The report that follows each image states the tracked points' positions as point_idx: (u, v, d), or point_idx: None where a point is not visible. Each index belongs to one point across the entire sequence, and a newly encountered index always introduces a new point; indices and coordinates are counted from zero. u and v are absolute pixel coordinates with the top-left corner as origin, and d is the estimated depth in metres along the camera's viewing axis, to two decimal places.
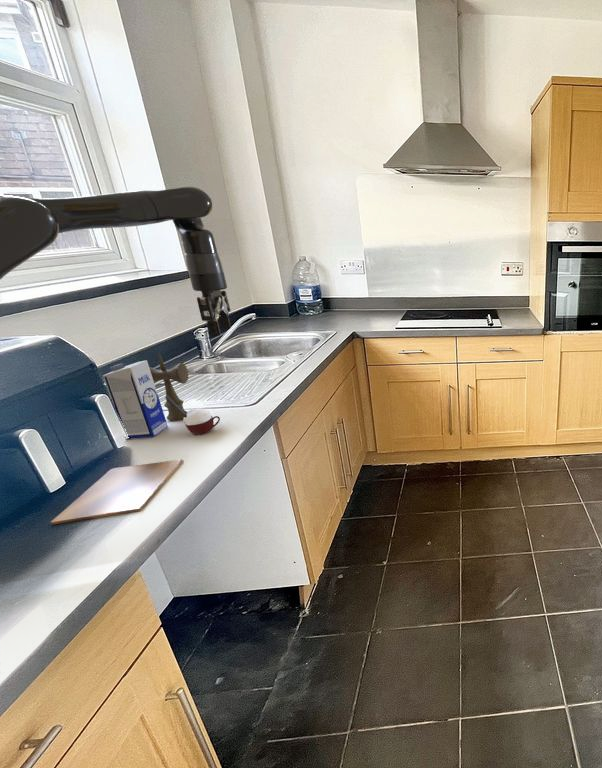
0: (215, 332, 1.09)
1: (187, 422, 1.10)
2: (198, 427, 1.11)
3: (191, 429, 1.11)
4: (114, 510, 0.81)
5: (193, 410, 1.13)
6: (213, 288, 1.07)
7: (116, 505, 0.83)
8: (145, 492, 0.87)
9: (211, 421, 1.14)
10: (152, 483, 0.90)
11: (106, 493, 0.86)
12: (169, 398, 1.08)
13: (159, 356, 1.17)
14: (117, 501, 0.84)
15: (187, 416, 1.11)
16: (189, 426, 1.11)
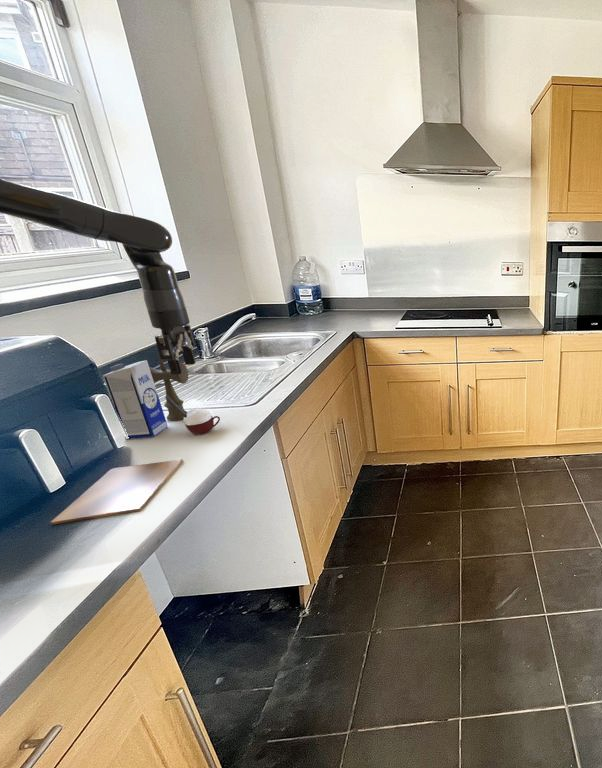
0: (176, 371, 1.04)
1: (187, 422, 1.10)
2: (198, 427, 1.11)
3: (191, 429, 1.11)
4: (114, 510, 0.81)
5: (193, 410, 1.13)
6: (173, 325, 1.02)
7: (116, 505, 0.83)
8: (145, 492, 0.87)
9: (211, 421, 1.14)
10: (152, 483, 0.90)
11: (106, 493, 0.86)
12: (169, 398, 1.08)
13: (159, 356, 1.17)
14: (117, 501, 0.84)
15: (187, 416, 1.11)
16: (189, 426, 1.11)
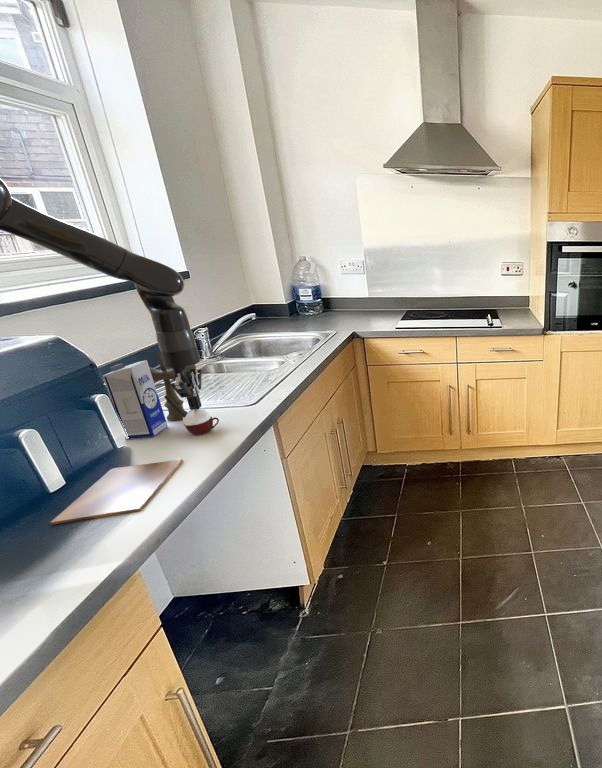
0: (194, 406, 1.11)
1: (184, 422, 1.10)
2: (194, 428, 1.11)
3: (188, 429, 1.11)
4: (114, 510, 0.81)
5: (193, 410, 1.13)
6: (185, 364, 1.06)
7: (116, 505, 0.83)
8: (145, 492, 0.87)
9: (209, 422, 1.13)
10: (152, 483, 0.90)
11: (106, 493, 0.86)
12: (168, 397, 1.09)
13: (159, 356, 1.17)
14: (117, 501, 0.84)
15: (186, 416, 1.11)
16: (186, 426, 1.11)
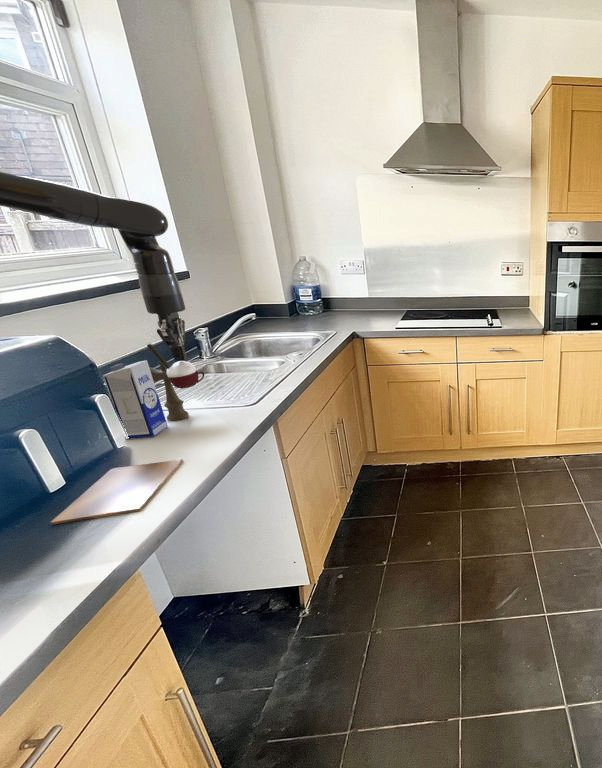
0: (180, 357, 1.06)
1: (167, 374, 1.06)
2: (177, 380, 1.06)
3: (171, 382, 1.06)
4: (114, 510, 0.81)
5: (177, 362, 1.08)
6: (171, 310, 1.01)
7: (116, 505, 0.83)
8: (145, 492, 0.87)
9: (193, 376, 1.08)
10: (152, 483, 0.90)
11: (106, 493, 0.86)
12: (152, 347, 1.04)
13: None
14: (117, 501, 0.84)
15: (169, 368, 1.06)
16: (169, 378, 1.06)
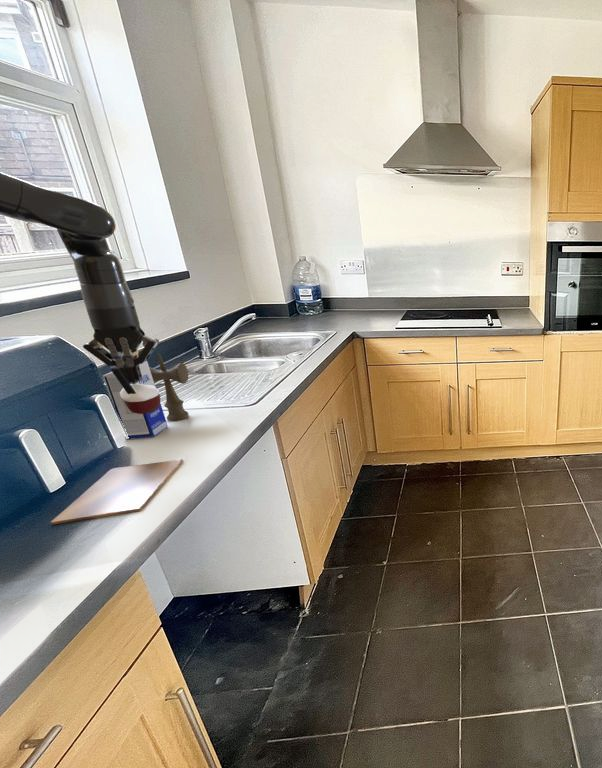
0: (141, 376, 0.94)
1: (143, 397, 0.92)
2: (156, 400, 0.95)
3: (148, 405, 0.93)
4: (114, 510, 0.81)
5: (132, 385, 0.93)
6: (138, 321, 0.91)
7: (116, 505, 0.83)
8: (145, 492, 0.87)
9: None
10: (152, 483, 0.90)
11: (106, 493, 0.86)
12: None
13: (159, 356, 1.17)
14: (117, 501, 0.84)
15: (136, 391, 0.92)
16: (146, 401, 0.93)
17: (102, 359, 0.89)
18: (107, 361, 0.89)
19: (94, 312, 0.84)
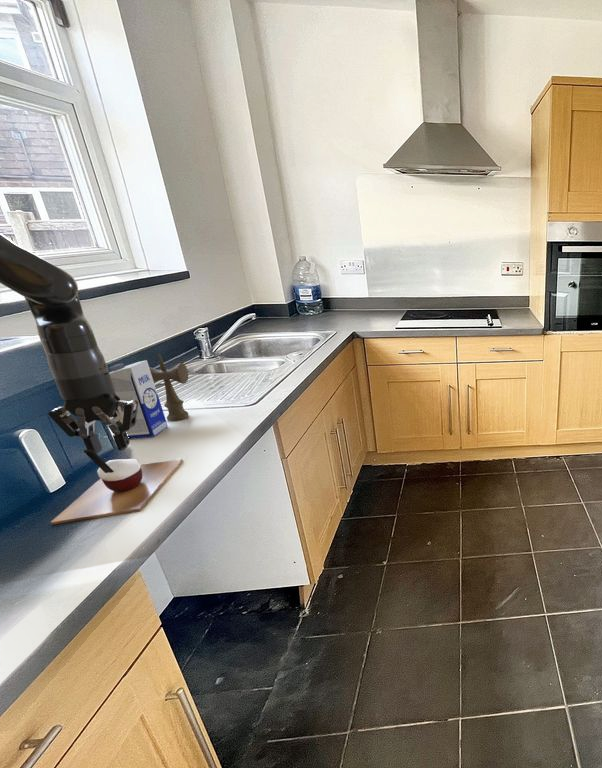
0: (128, 443, 0.87)
1: (122, 475, 0.85)
2: (137, 476, 0.88)
3: (128, 483, 0.86)
4: (114, 510, 0.81)
5: (111, 462, 0.86)
6: None
7: (116, 505, 0.83)
8: (145, 492, 0.87)
9: None
10: (152, 483, 0.90)
11: (106, 493, 0.86)
12: None
13: (159, 356, 1.17)
14: (117, 501, 0.84)
15: (114, 470, 0.85)
16: (125, 479, 0.86)
17: (64, 429, 0.81)
18: (69, 432, 0.81)
19: (62, 383, 0.77)
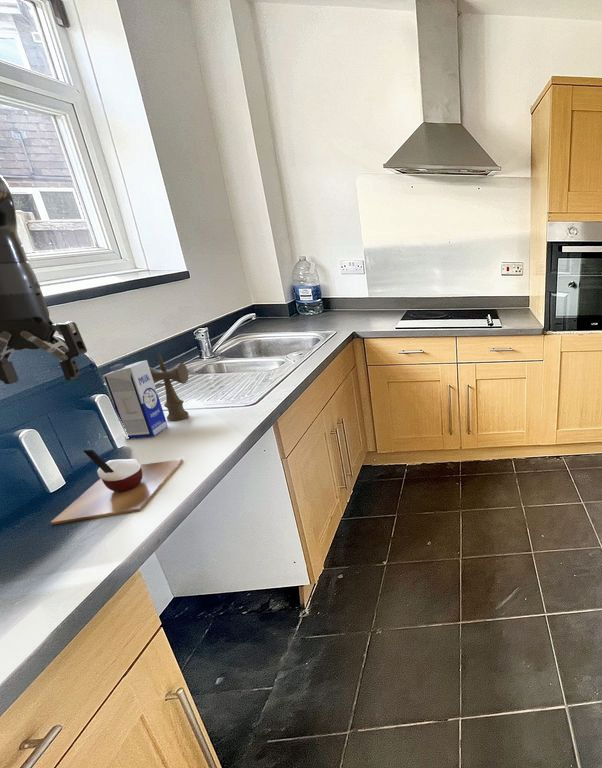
0: (78, 372, 0.77)
1: (122, 475, 0.85)
2: (137, 476, 0.88)
3: (128, 483, 0.86)
4: (114, 510, 0.81)
5: (111, 462, 0.86)
6: (48, 312, 0.74)
7: (116, 505, 0.83)
8: (145, 492, 0.87)
9: None
10: (152, 483, 0.90)
11: (106, 493, 0.86)
12: None
13: (159, 356, 1.17)
14: (117, 501, 0.84)
15: (114, 470, 0.85)
16: (125, 479, 0.86)
17: None
18: None
19: None
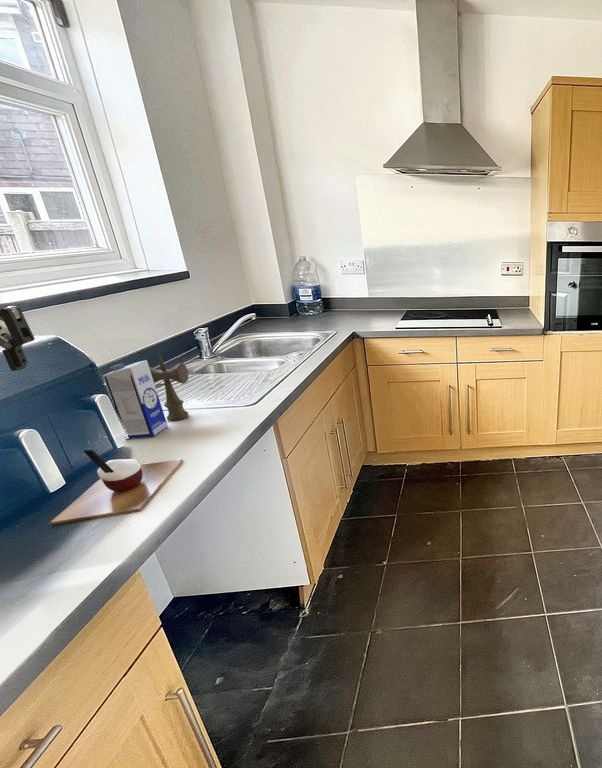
0: (25, 362, 0.70)
1: (122, 475, 0.85)
2: (137, 476, 0.88)
3: (128, 483, 0.86)
4: (114, 510, 0.81)
5: (111, 462, 0.86)
6: None
7: (116, 505, 0.83)
8: (145, 492, 0.87)
9: None
10: (152, 483, 0.90)
11: (106, 493, 0.86)
12: None
13: (159, 356, 1.17)
14: (117, 501, 0.84)
15: (114, 470, 0.85)
16: (125, 479, 0.86)
17: None
18: None
19: None
